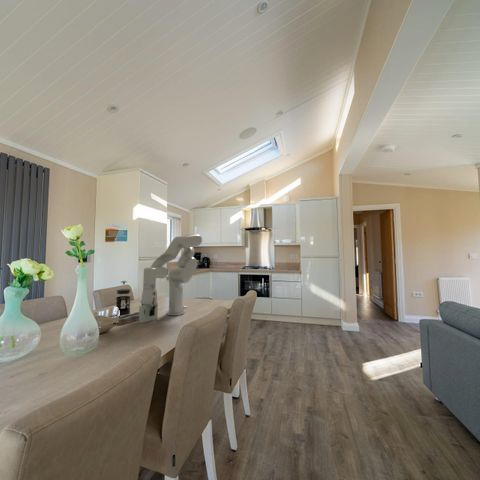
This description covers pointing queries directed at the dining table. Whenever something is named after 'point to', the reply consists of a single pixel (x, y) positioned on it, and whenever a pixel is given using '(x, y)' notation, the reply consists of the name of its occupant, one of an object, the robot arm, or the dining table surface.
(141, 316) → the door panel
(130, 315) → the door track
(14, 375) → the dining table surface
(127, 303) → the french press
